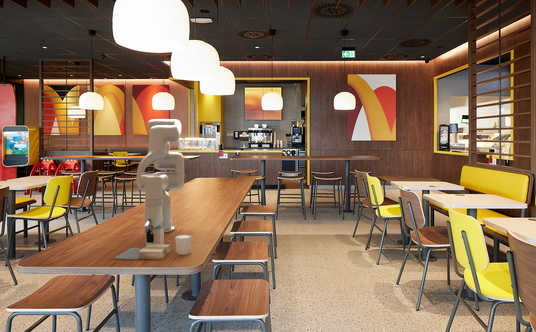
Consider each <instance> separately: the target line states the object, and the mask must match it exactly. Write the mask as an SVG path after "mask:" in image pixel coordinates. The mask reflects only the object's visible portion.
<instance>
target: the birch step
mask: <svg viewBox="0 0 536 332" xmlns="http://www.w3.org/2000/svg"><path fill="white" fill-rule="evenodd" d="M171 246H172V245H171V244H170V243H164V244H149V245H148V246H146V245H145V247H142V248H143V249H142V250H140V251H139V259H138V260H162V259H163V258H165V257H166V256H167V255H168V254H169V253H170V252H172V247H171Z"/></svg>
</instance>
